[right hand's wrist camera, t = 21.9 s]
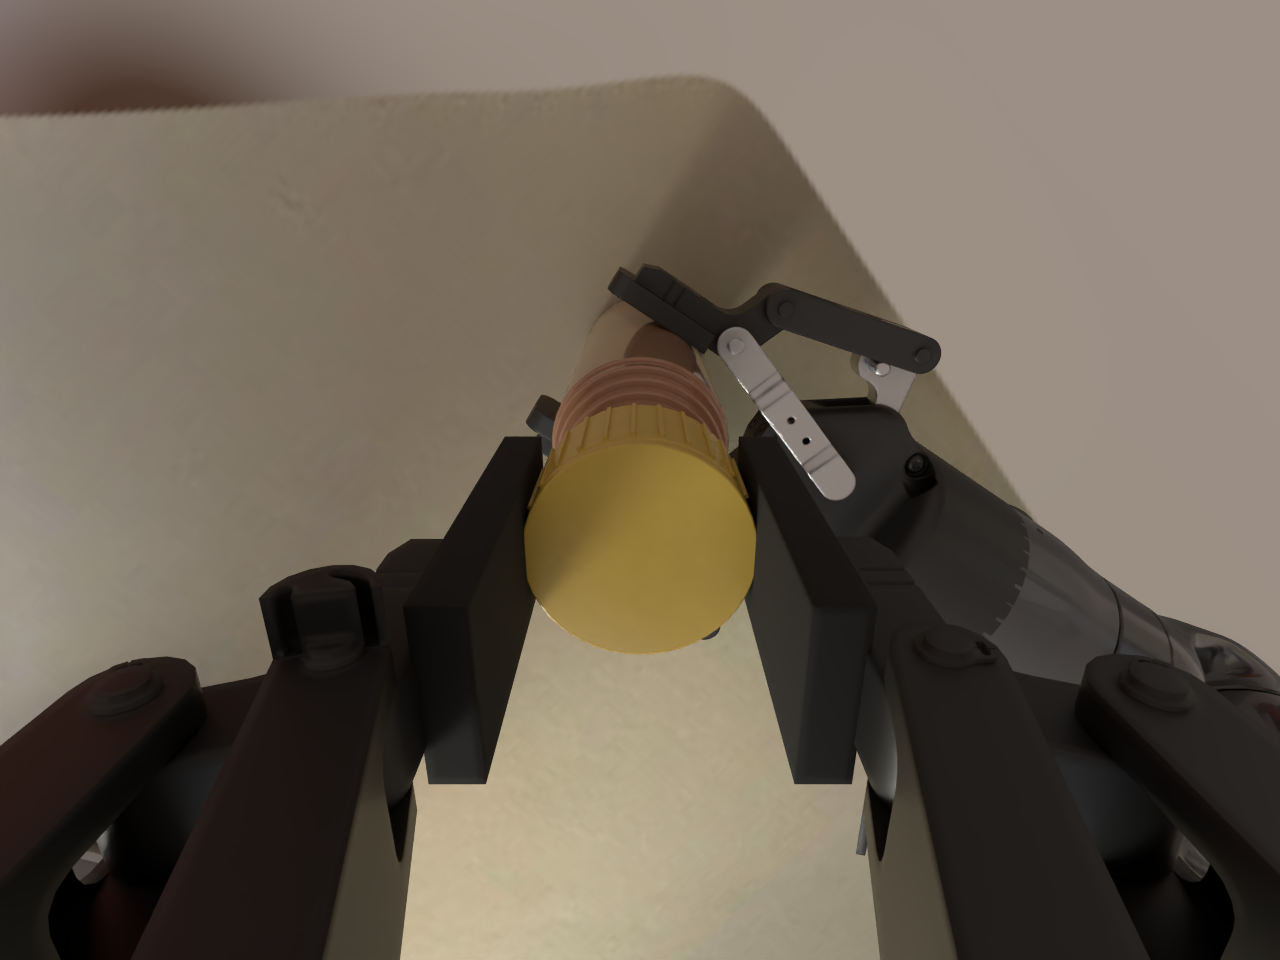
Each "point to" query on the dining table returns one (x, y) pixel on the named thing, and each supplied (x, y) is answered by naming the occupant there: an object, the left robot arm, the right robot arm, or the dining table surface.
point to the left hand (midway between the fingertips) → (574, 346)
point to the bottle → (638, 374)
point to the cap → (640, 531)
